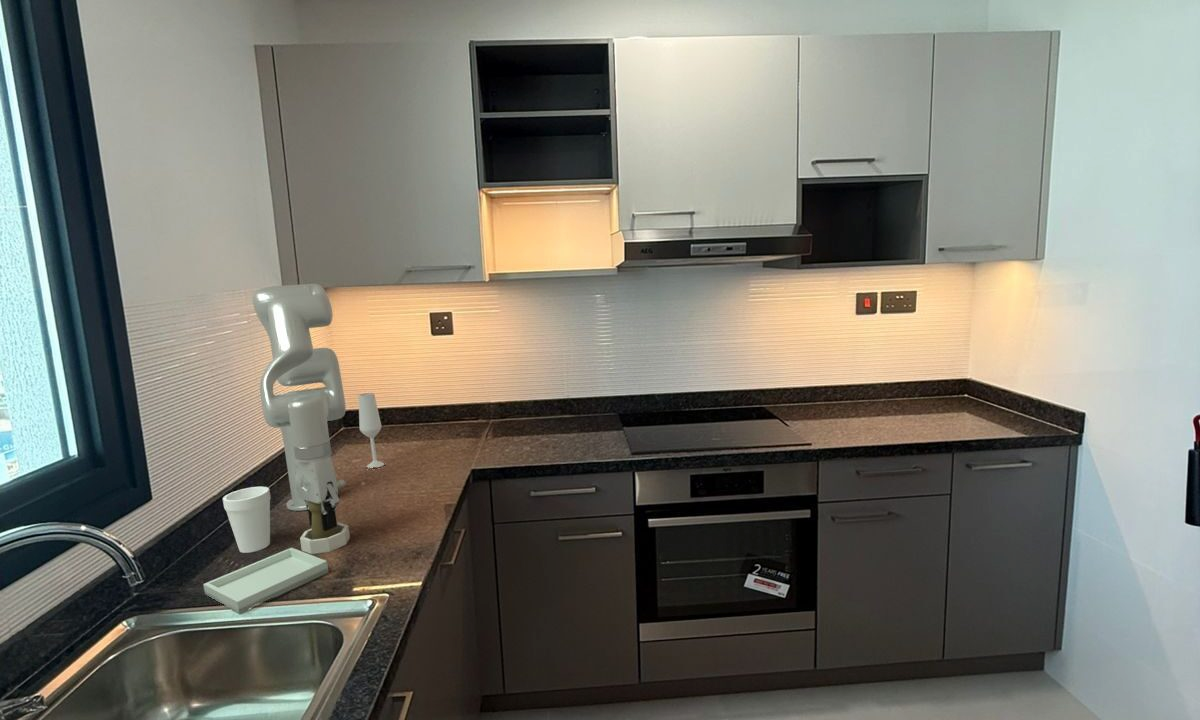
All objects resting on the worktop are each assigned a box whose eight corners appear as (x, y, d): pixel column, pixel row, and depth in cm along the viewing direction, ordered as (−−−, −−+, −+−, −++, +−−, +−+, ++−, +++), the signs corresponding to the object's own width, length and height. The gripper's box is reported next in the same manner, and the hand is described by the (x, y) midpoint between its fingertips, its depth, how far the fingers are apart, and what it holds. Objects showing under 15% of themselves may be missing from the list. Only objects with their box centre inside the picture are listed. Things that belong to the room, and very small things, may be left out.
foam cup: (284, 536, 151) (276, 485, 149) (265, 553, 142) (256, 499, 140) (244, 539, 151) (236, 488, 149) (223, 557, 142) (213, 502, 140)
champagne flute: (383, 468, 200) (373, 395, 197) (361, 470, 200) (352, 397, 197) (388, 462, 207) (380, 391, 204) (368, 463, 207) (359, 393, 203)
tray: (292, 558, 138) (291, 547, 138) (328, 572, 130) (327, 561, 130) (205, 595, 124) (203, 584, 124) (239, 614, 116) (237, 601, 115)
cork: (311, 539, 147) (305, 495, 145) (339, 533, 149) (333, 489, 147) (311, 549, 141) (304, 503, 140) (339, 543, 144) (333, 498, 142)
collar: (333, 532, 151) (331, 520, 151) (356, 539, 146) (355, 527, 145) (295, 548, 144) (293, 535, 143) (318, 556, 138) (316, 544, 138)
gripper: (277, 450, 143) (288, 525, 146) (318, 460, 134) (329, 540, 137) (308, 442, 150) (318, 513, 152) (349, 450, 140) (359, 527, 143)
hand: (323, 525), depth 145 cm, fingers closed on cork, 4 cm apart
